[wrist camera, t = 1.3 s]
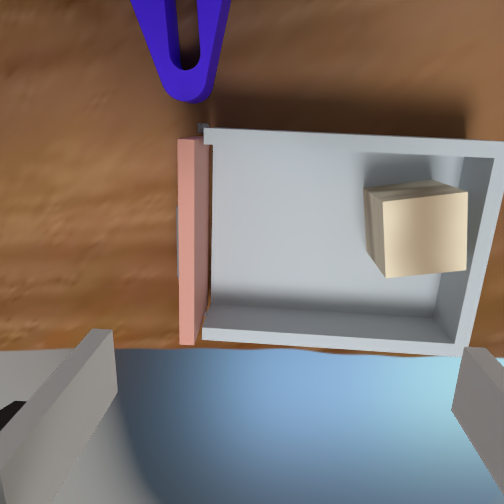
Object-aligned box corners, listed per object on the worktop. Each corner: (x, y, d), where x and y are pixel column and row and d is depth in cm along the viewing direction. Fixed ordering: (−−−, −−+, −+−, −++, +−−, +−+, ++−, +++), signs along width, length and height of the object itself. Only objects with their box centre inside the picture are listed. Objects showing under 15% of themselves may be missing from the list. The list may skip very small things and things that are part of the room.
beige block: (366, 251, 38) (385, 278, 32) (363, 187, 36) (382, 201, 30) (432, 244, 38) (466, 270, 31) (432, 179, 36) (468, 191, 29)
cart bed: (201, 304, 44) (185, 341, 36) (202, 123, 38) (183, 122, 31) (431, 318, 43) (465, 360, 35) (467, 135, 37) (515, 137, 30)
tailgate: (173, 343, 34) (194, 345, 34) (170, 138, 29) (194, 139, 29) (191, 303, 41) (207, 304, 41) (190, 135, 37) (209, 136, 36)
